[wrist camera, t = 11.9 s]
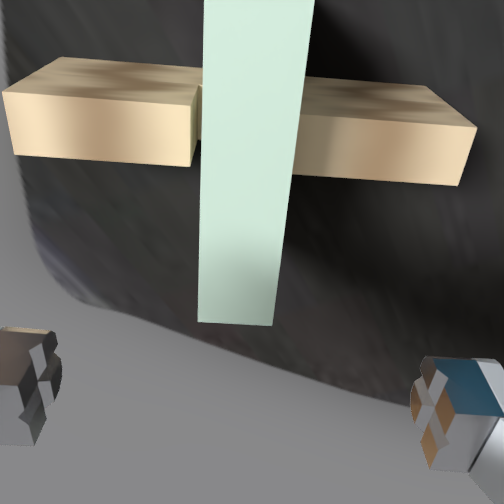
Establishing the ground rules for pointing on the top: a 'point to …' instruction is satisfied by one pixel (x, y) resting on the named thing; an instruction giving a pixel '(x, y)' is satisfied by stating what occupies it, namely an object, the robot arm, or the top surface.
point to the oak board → (190, 121)
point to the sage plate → (248, 151)
